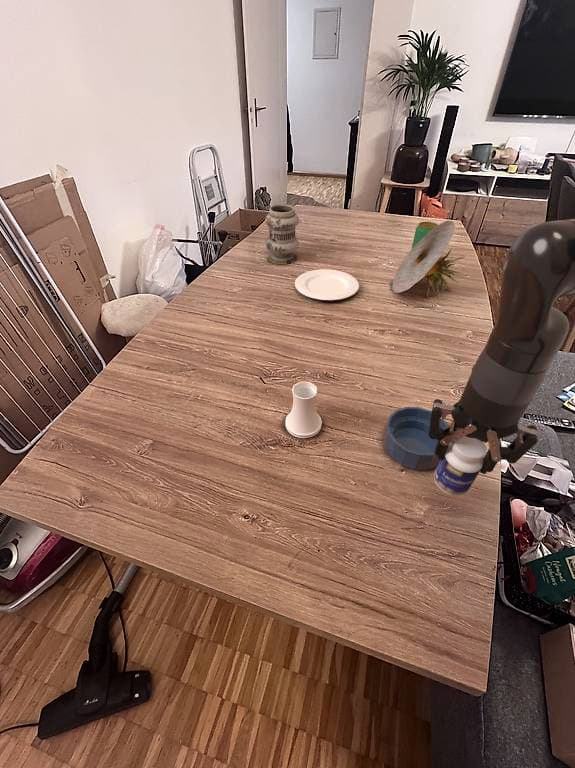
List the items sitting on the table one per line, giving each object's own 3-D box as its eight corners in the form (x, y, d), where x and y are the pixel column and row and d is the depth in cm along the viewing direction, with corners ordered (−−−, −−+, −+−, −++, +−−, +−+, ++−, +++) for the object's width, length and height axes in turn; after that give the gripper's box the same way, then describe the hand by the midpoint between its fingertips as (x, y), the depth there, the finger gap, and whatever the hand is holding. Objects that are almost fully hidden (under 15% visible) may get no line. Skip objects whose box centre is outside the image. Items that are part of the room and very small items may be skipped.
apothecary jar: (280, 268, 133) (279, 216, 121) (259, 257, 140) (256, 207, 128) (305, 259, 139) (306, 208, 127) (284, 249, 146) (284, 200, 134)
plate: (281, 289, 122) (281, 284, 121) (321, 268, 133) (321, 263, 132) (332, 312, 112) (333, 306, 110) (371, 287, 123) (371, 282, 122)
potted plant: (420, 333, 116) (497, 279, 102) (383, 293, 111) (459, 231, 98) (415, 301, 136) (479, 253, 122) (383, 266, 131) (446, 212, 118)
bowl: (456, 447, 74) (464, 430, 71) (423, 483, 68) (430, 466, 65) (405, 414, 81) (410, 398, 77) (370, 444, 75) (374, 428, 71)
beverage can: (428, 253, 143) (436, 220, 135) (434, 262, 137) (443, 229, 129) (407, 253, 143) (414, 221, 135) (412, 262, 137) (420, 229, 129)
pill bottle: (433, 493, 61) (451, 455, 54) (432, 464, 65) (448, 426, 58) (471, 500, 60) (493, 463, 53) (467, 471, 64) (487, 433, 57)
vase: (312, 443, 75) (314, 408, 68) (279, 430, 78) (278, 395, 71) (326, 418, 80) (330, 383, 73) (295, 407, 83) (295, 372, 76)
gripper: (439, 385, 47) (410, 465, 59) (569, 420, 43) (511, 498, 54) (446, 352, 52) (418, 431, 64) (563, 380, 48) (511, 459, 59)
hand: (461, 462), depth 59 cm, fingers closed on pill bottle, 5 cm apart
